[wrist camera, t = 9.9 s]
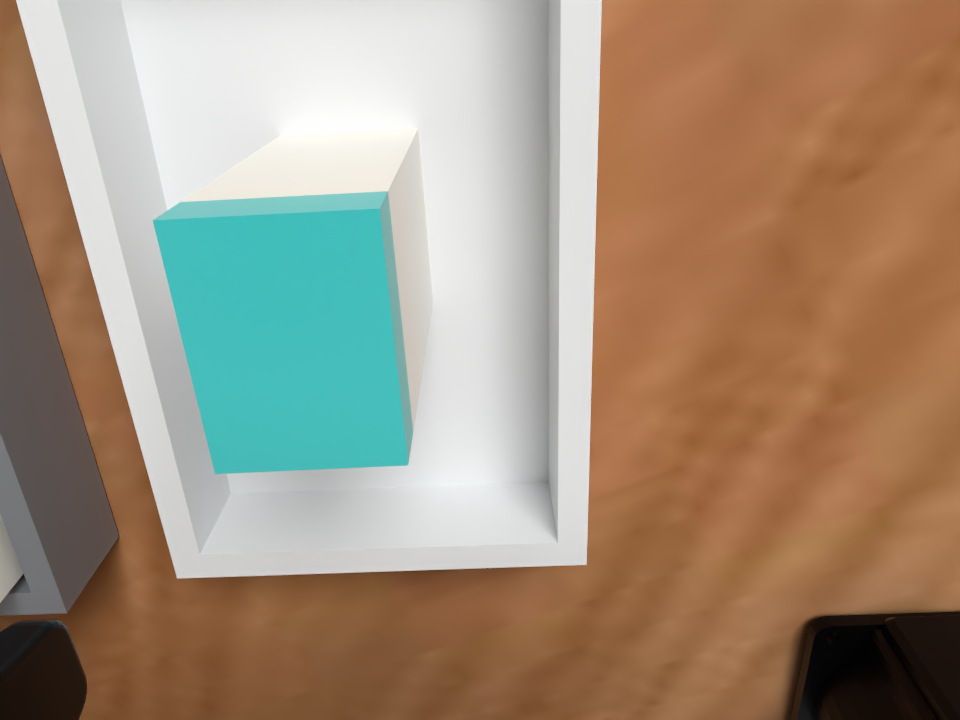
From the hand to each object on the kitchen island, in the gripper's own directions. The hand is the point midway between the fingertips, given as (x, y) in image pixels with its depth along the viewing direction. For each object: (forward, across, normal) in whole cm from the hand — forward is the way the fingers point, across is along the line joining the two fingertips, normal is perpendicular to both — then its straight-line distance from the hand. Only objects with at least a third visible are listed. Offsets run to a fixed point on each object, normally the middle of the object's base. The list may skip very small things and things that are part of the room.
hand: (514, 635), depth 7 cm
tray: (+12, +3, -2) cm, 12 cm away
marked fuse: (+11, +3, -2) cm, 12 cm away
